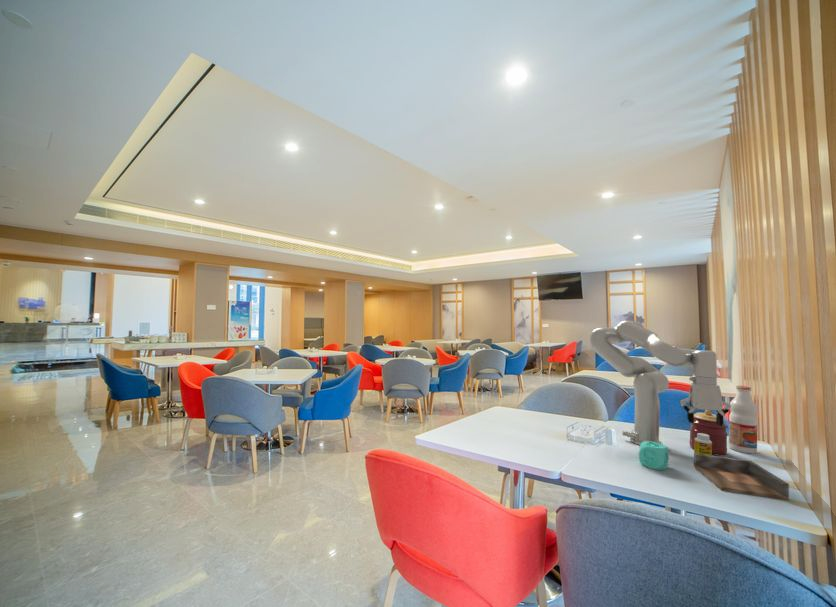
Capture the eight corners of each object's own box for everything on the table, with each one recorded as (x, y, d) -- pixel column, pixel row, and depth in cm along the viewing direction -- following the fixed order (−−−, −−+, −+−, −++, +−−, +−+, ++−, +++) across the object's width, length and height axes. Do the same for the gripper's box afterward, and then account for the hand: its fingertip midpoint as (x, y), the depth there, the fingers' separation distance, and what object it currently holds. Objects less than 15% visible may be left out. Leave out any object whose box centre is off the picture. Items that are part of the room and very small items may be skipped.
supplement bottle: (697, 461, 146) (697, 435, 146) (691, 456, 151) (692, 431, 151) (714, 463, 144) (714, 437, 144) (707, 458, 149) (708, 433, 150)
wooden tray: (721, 490, 121) (721, 474, 121) (693, 466, 140) (693, 453, 140) (788, 500, 116) (788, 484, 116) (750, 474, 135) (750, 460, 135)
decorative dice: (668, 466, 139) (669, 445, 139) (663, 472, 134) (663, 450, 134) (644, 460, 145) (645, 439, 145) (638, 465, 139) (639, 443, 140)
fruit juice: (735, 445, 168) (736, 384, 169) (761, 452, 160) (762, 388, 161) (723, 447, 165) (725, 384, 166) (749, 455, 156) (750, 389, 157)
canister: (733, 458, 152) (734, 415, 152) (695, 452, 156) (696, 411, 156) (718, 447, 164) (719, 408, 165) (684, 443, 168) (685, 404, 169)
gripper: (684, 380, 147) (684, 423, 146) (735, 384, 143) (736, 428, 142) (676, 378, 154) (676, 419, 154) (725, 381, 150) (725, 423, 149)
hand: (705, 423), depth 148 cm, fingers open, 9 cm apart
